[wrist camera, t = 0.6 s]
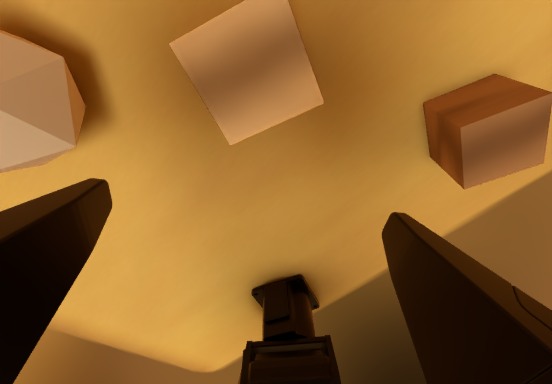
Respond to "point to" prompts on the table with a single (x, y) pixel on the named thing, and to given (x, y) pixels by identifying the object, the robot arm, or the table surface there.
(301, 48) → the maple base
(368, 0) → the table surface
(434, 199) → the table surface
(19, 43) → the die
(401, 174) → the table surface
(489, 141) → the walnut cube
